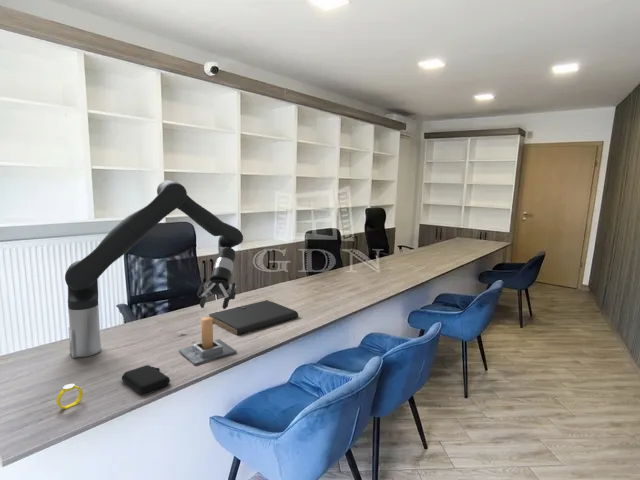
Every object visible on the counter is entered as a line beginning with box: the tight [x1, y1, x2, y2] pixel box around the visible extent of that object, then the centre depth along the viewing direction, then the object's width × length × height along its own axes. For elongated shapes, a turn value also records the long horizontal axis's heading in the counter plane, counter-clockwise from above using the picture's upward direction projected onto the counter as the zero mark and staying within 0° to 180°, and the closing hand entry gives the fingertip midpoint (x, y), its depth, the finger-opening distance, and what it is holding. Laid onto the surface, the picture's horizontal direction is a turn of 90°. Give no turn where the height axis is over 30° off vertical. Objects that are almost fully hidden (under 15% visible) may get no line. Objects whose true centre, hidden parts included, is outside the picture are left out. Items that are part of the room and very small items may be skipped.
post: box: [200, 316, 214, 350], centre depth 139 cm, size 4×4×12 cm
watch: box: [56, 383, 84, 410], centre depth 104 cm, size 6×3×6 cm, turn 148°
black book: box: [208, 299, 299, 336], centre depth 176 cm, size 33×4×24 cm
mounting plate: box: [178, 338, 238, 366], centre depth 140 cm, size 16×14×3 cm
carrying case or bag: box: [121, 364, 171, 396], centre depth 118 cm, size 11×3×15 cm
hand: (212, 307), depth 144 cm, fingers open, 8 cm apart
